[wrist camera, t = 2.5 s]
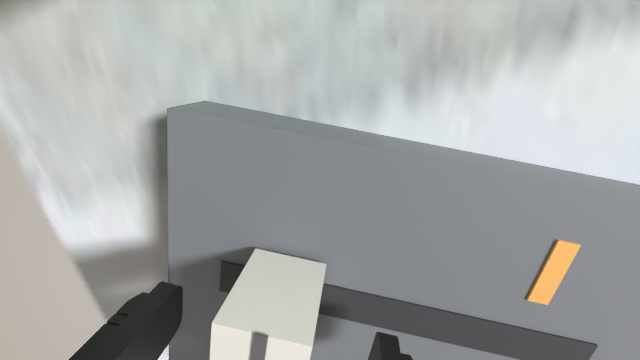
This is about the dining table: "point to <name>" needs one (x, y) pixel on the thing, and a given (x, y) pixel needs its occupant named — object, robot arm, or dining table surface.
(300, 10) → the dining table surface
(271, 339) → the fader
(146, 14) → the dining table surface
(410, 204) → the fader console
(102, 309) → the dining table surface
